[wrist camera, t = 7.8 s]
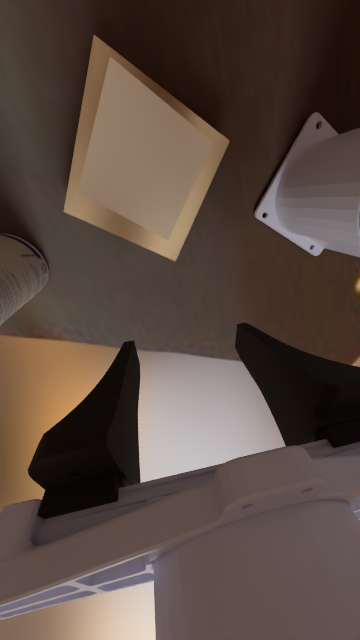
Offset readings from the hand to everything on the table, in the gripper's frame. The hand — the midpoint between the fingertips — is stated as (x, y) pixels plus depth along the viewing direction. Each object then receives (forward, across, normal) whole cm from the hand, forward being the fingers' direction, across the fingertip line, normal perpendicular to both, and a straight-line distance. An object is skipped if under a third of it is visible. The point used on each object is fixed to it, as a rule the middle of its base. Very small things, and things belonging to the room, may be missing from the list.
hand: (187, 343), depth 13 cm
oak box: (+10, +1, -10) cm, 14 cm away
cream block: (+7, +1, -10) cm, 12 cm away
